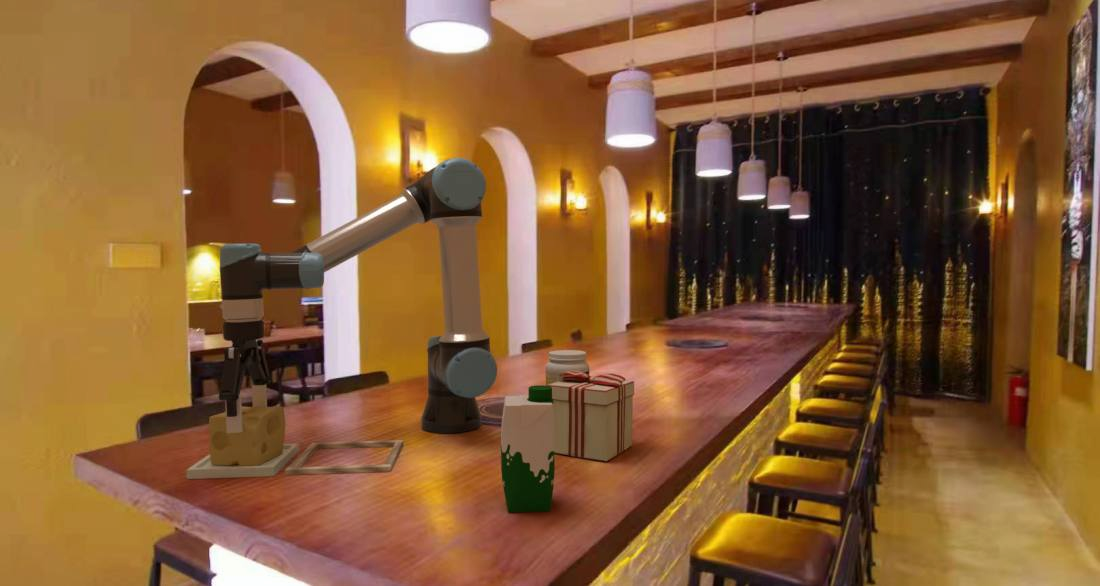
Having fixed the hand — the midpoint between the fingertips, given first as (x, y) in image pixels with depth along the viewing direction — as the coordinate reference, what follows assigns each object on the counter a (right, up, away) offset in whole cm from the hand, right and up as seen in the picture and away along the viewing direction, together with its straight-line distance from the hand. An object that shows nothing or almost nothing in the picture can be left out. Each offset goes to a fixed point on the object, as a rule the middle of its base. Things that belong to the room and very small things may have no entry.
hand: (248, 423), depth 128 cm
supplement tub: (+67, -7, +45) cm, 81 cm away
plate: (0, -8, 0) cm, 8 cm away
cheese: (0, -8, +1) cm, 8 cm away
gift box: (+71, -8, +12) cm, 72 cm away
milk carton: (+58, -10, -21) cm, 62 cm away
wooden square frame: (+19, -8, +4) cm, 21 cm away
